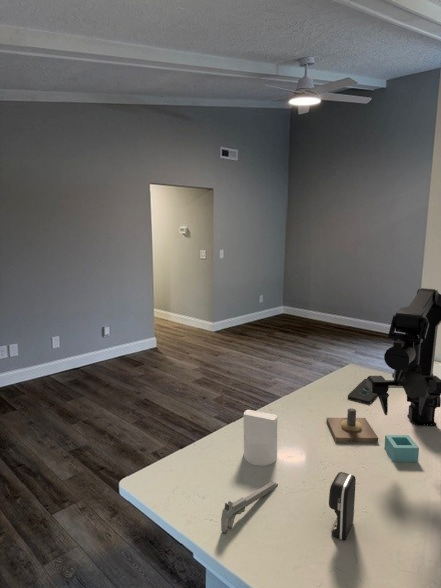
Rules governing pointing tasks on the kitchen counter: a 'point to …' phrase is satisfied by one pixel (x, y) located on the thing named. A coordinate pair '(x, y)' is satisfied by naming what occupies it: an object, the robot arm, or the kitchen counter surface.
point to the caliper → (242, 506)
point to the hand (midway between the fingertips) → (403, 414)
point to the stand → (351, 429)
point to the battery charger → (342, 503)
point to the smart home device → (362, 394)
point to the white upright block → (260, 437)
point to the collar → (401, 448)
